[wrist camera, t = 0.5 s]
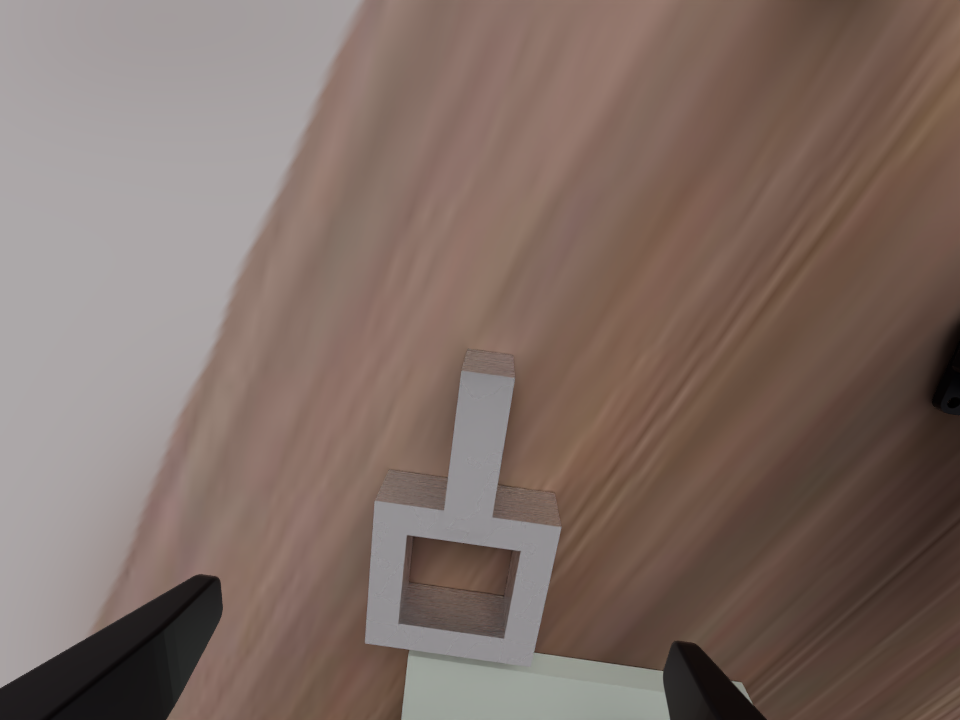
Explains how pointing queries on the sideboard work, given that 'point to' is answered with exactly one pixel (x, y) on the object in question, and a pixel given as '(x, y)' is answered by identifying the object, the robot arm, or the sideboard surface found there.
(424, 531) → the steel link
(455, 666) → the keeper board
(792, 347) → the sideboard surface
